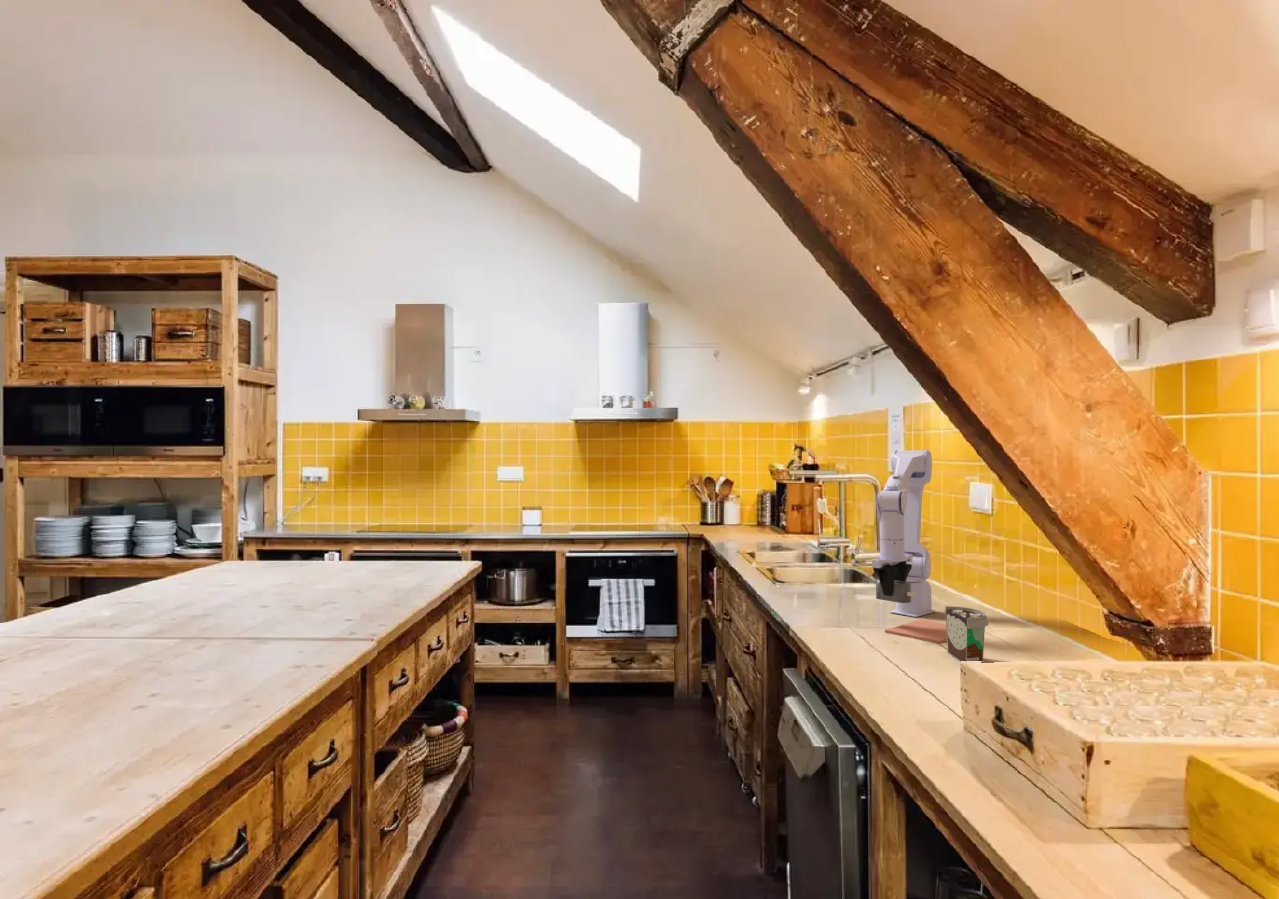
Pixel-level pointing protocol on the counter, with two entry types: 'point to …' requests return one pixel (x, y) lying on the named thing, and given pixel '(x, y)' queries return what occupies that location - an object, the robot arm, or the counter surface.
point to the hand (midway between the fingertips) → (893, 594)
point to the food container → (965, 633)
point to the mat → (922, 630)
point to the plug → (896, 592)
